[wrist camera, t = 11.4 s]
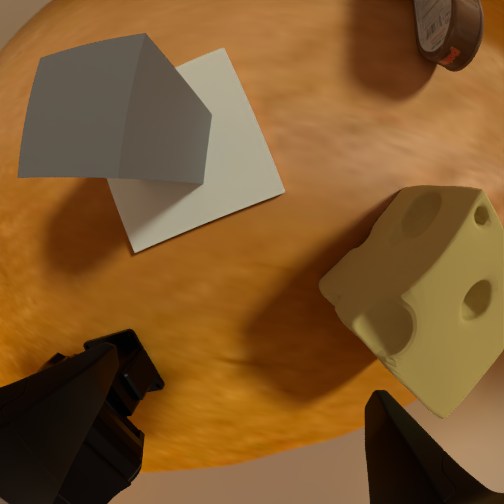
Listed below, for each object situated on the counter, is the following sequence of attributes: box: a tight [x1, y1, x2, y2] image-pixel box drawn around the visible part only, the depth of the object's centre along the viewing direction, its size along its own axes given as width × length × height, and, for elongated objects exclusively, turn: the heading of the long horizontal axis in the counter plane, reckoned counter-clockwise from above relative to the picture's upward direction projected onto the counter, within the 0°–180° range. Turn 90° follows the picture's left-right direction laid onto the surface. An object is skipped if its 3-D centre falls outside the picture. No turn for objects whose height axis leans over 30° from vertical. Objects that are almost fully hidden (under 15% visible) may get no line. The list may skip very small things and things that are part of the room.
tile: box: [107, 48, 285, 253], centre depth 20 cm, size 12×12×1 cm
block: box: [18, 33, 212, 184], centre depth 13 cm, size 5×5×12 cm
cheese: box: [319, 185, 504, 419], centre depth 16 cm, size 10×11×10 cm
